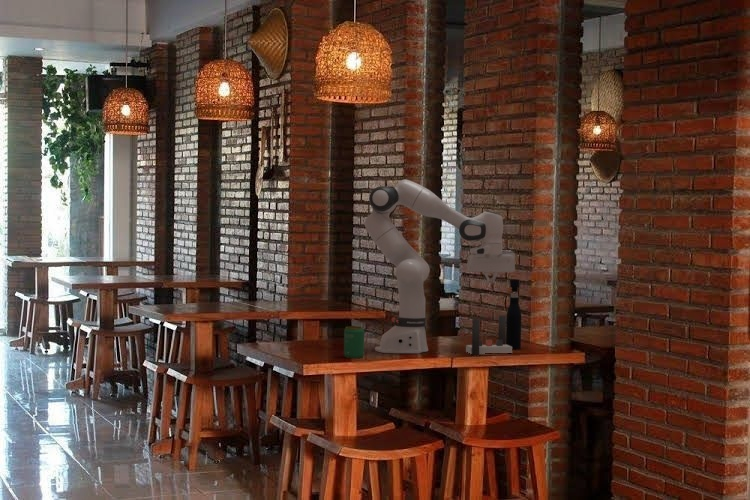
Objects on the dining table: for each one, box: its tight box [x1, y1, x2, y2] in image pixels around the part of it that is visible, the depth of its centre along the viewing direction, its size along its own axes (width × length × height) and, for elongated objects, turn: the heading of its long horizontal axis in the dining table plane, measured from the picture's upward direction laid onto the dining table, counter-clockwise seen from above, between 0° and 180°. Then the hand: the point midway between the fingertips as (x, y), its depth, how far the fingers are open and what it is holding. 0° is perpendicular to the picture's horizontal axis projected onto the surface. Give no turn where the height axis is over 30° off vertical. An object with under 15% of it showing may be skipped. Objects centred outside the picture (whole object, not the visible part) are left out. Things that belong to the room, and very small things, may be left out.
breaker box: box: [465, 344, 513, 355], centre depth 444 cm, size 18×7×3 cm, turn 102°
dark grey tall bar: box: [471, 318, 481, 356], centre depth 436 cm, size 3×3×15 cm
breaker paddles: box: [479, 339, 503, 346], centre depth 444 cm, size 11×1×2 cm, turn 102°
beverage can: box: [343, 325, 365, 359], centre depth 425 cm, size 8×8×12 cm
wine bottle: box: [505, 278, 522, 350], centre depth 458 cm, size 6×6×30 cm
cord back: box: [497, 314, 507, 345], centre depth 452 cm, size 3×3×15 cm
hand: (490, 283), depth 443 cm, fingers closed
